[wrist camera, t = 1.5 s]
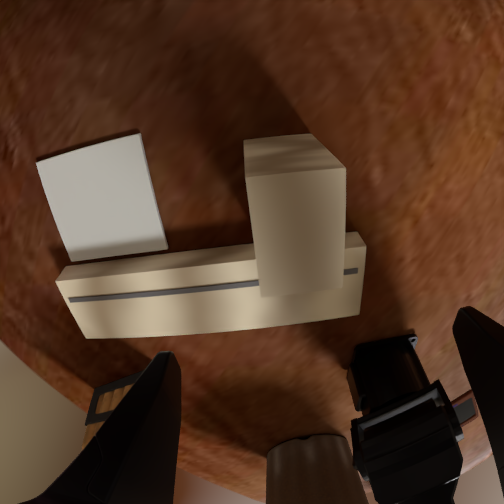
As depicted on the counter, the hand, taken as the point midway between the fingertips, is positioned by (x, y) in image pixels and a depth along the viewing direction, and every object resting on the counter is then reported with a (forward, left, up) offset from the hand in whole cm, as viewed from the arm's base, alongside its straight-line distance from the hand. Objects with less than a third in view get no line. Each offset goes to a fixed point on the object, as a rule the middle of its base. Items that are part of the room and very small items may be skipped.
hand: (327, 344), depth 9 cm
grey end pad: (+12, -1, -13) cm, 17 cm away
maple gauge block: (0, 0, -13) cm, 13 cm away
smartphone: (-28, +41, -13) cm, 51 cm away
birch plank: (+6, +7, -13) cm, 16 cm away
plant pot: (-2, +40, -13) cm, 42 cm away
